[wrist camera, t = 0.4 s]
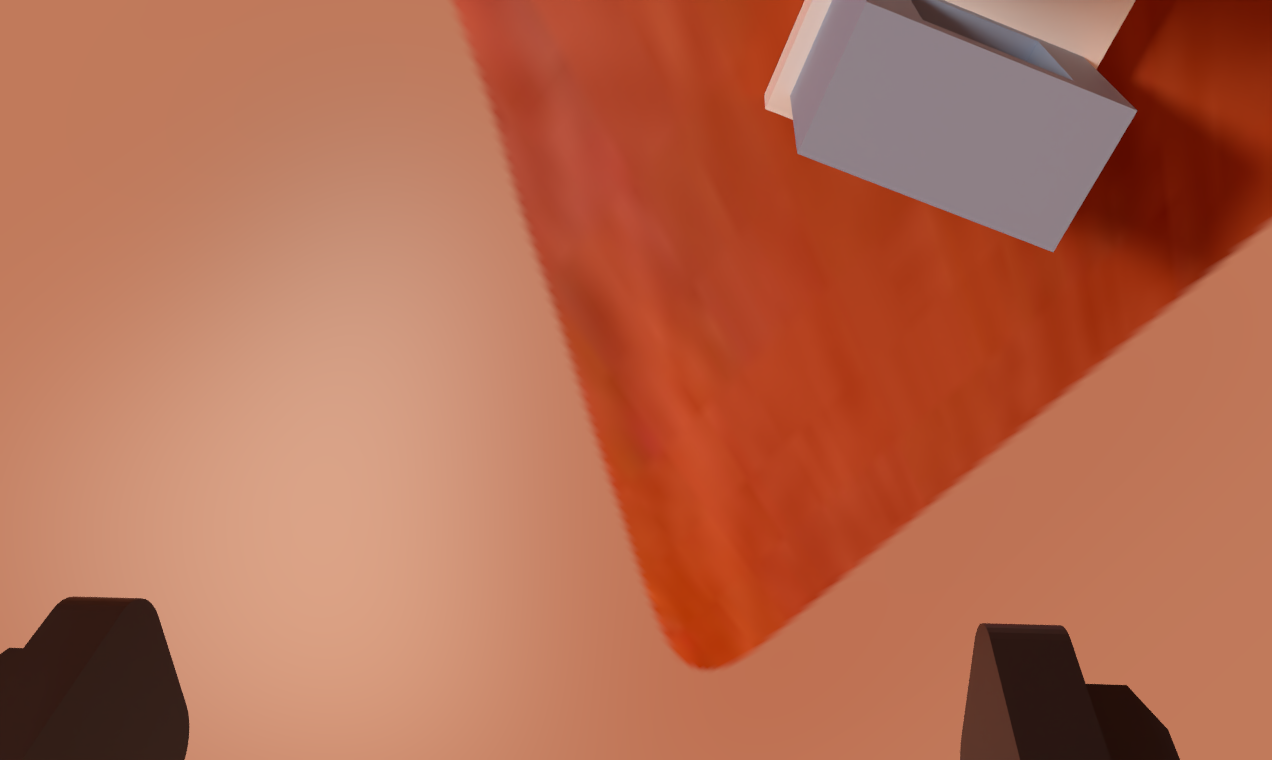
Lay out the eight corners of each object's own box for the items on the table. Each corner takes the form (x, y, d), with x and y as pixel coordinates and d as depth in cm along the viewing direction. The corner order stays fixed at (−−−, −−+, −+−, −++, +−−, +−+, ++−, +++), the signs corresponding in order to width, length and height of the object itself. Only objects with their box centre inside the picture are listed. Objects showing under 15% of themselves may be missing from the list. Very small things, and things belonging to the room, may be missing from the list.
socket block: (849, -39, 32) (866, 1, 27) (1083, 56, 33) (1137, 110, 28) (790, 96, 34) (797, 153, 29) (1013, 182, 34) (1053, 252, 30)
